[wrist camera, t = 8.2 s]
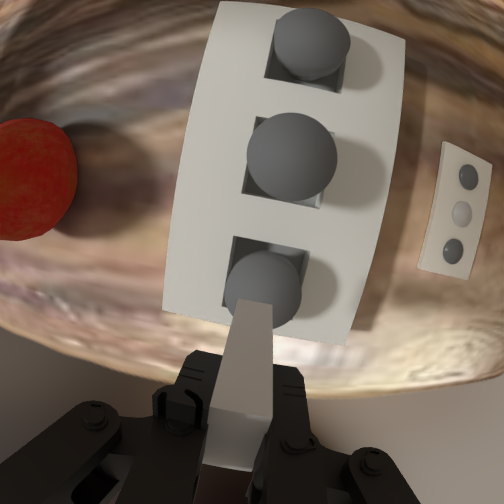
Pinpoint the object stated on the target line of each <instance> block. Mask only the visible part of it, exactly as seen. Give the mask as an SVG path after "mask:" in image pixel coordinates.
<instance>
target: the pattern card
mask: <svg viewBox="0 0 504 504" xmlns="http://www.w3.org/2000/svg"><path fill="white" fill-rule="evenodd" d="M491 173H492V164H490V163H488V162H486V161H485V160H483V159H481V158H479V157H477V156H475V155H473V154H471V153H469V152H467V151H465V150H463V149H461V148H459V147H457V146H455V145H453V144H451V143H449V142H446V141H444V142H442V148H441V156H440V163H439V170H438V176H437V182H436V188H435V193H434V199H433V204H432V208H431V213H430V218H429V222H428V226H427V230H426V234H425V238H424V242H423V246H422V250H421V253H420V257H419V260H418V264H417V268H418V269H420V270H425V271H429V272H433V273H438V274H442V275H446V276H450V277H455V278H459V279H463V280H467V281H468V278H469V275H470V271H471V268H472V265H473V261H474V258H475V254H476V251H477V247H478V243H479V239H480V235H481V230H482V226H483V221H484V217H485V211H486V206H487V201H488V195H489V188H490V181H491Z"/></svg>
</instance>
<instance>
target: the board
mask: <svg viewBox="0 0 504 504" xmlns="http://www.w3.org/2000/svg"><path fill="white" fill-rule="evenodd" d="M295 9H296V8H290V7H284V6H277V5H269V4H259V3H248V2H232V1H220V4H219V7H218V10H217V13H216V16H215V19H214V22H213V26H212V29H211V32H210V36H209V39H208V42H207V46H206V50H205V53H204V57H203V61H202V64H201V68H200V72H199V76H198V80H197V84H196V88H195V92H194V97H193V101H192V105H191V110H190V114H189V119H188V124H187V129H186V134H185V139H184V144H183V149H182V155H181V160H180V166H179V172H178V178H177V184H176V190H175V197H174V203H173V210H172V218H171V225H170V233H169V242H168V250H167V260H166V270H165V281H164V293H163V306H162V310H165V311H169V312H173V313H177V314H181V315H185V316H189V317H193V318H197V319H201V320H206V321H210V322H214V323H219V324H224V325H228V326H231V323H232V319H233V316H232V315H231V313H230V312H229V310H228V308H227V306H226V303H225V298H224V290H225V285H226V282H227V279H228V277H229V275H230V273H231V271H232V269H233V267H234V266H235V264H236V263H237V262H238V261H239V260H240V259H241V258H242V257H244V256H245V255H247V254H249V253H252V252H255V251H261V250H267V251H273V252H276V253H279V254H281V255H283V256H284V257H286V258H287V259H288V260H289V261H290V262H291V263H292V264H293V266H294V267H295V269H296V271H297V273H298V277H299V281H300V285H301V290H302V299H301V304H300V307H299V309H298V311H297V313H296V314H295V316H294V317H293V318H292V319H291V320H290V321H289V322H287V323H286V324H284V325H283V326H280V327H278V328H275V329H273V334H274V335H279V336H285V337H291V338H296V339H303V340H309V341H315V342H322V343H329V344H336V345H343V346H344V345H345V342H346V340H347V337H348V334H349V331H350V329H351V326H352V323H353V320H354V317H355V314H356V311H357V308H358V305H359V302H360V299H361V296H362V293H363V290H364V286H365V283H366V280H367V276H368V273H369V270H370V266H371V263H372V259H373V255H374V252H375V248H376V244H377V240H378V236H379V232H380V228H381V224H382V220H383V215H384V211H385V206H386V202H387V197H388V192H389V187H390V182H391V176H392V171H393V165H394V159H395V153H396V146H397V139H398V132H399V124H400V116H401V106H402V95H403V83H404V66H405V39H402V38H400V37H397V36H394V35H392V34H389V33H386V32H384V31H381V30H378V29H375V28H372V27H369V26H366V25H363V24H360V23H356V22H353V21H349V20H346V19H342V18H338V17H336V18H338V19H339V20H340V21H341V22H342V23H343V24H344V25H345V27H346V28H347V30H348V32H349V35H350V39H351V45H350V49H349V52H348V53H347V55H346V57H345V59H344V60H343V62H342V64H341V66H340V67H339V68H338V69H337V70H336V71H335V72H334V73H332V74H330V75H328V76H325V77H320V78H318V79H316V80H313V81H303V80H299V79H297V78H295V77H294V76H292V75H291V74H290V73H289V71H288V70H287V69H286V68H285V67H284V66H283V65H282V64H281V63H280V61H279V60H278V58H277V56H276V53H275V47H274V30H275V26H276V24H277V22H278V20H279V19H280V18H281V17H282V16H283V15H284V14H286V13H288V12H290V11H292V10H295ZM288 112H290V113H301V114H304V115H307V116H310V117H312V118H314V119H315V120H317V121H318V122H320V123H321V124H322V125H323V126H324V127H325V128H326V129H327V130H328V131H329V133H330V134H331V136H332V138H333V140H334V142H335V145H336V149H337V159H338V161H337V167H336V171H335V174H334V176H333V178H332V180H331V182H330V183H329V184H328V186H327V187H326V188H325V189H324V190H323V191H321V192H320V193H319V194H317V195H315V196H314V197H311V198H309V199H306V200H302V201H285V200H281V199H277V198H275V197H273V196H271V195H269V194H267V193H266V192H265V191H263V190H262V189H261V188H260V187H259V186H258V185H257V184H256V182H255V181H254V179H253V178H252V176H251V174H250V171H249V168H248V165H247V147H248V143H249V140H250V138H251V136H252V134H253V132H254V131H255V129H256V128H257V127H258V126H259V125H260V124H261V123H262V122H264V121H265V120H266V119H268V118H270V117H272V116H274V115H277V114H281V113H288Z"/></svg>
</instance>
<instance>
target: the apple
mask: <svg viewBox="0 0 504 504" xmlns="http://www.w3.org/2000/svg"><path fill="white" fill-rule="evenodd" d="M77 183H78V170H77V158H76V155H75V152H74V150H73V147H72V144H71V141H70V139H69V137H68V136H67V135H66V134H65V133H64V131H63V130H62V129H61V128H59V127H58V126H56V125H55V124H53V123H51V122H47V121H43V120H38V119H33V118H20V119H13V120H9V121H6V122H4V123H1V124H0V240H9V241H21V240H26V239H30V238H34V237H37V236H41V235H43V234H44V233H46V232H47V231H49V230H51V229H52V228H54V227H55V225H56V224H57V223H58V222H59V221H60V220H61V219H62V217H63V216H64V215H65V213H66V212H67V210H68V209H69V207H70V205H71V203H72V201H73V198H74V196H75V193H76V190H77Z"/></svg>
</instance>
